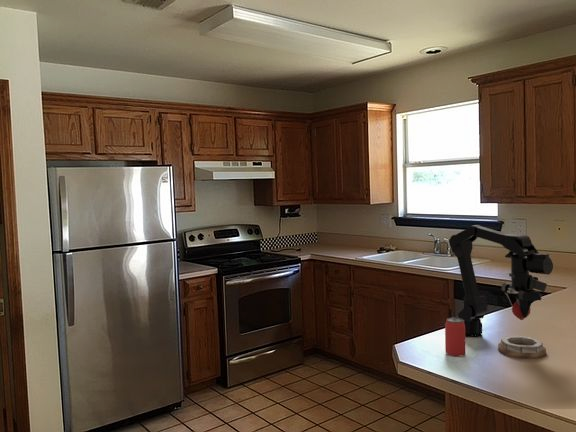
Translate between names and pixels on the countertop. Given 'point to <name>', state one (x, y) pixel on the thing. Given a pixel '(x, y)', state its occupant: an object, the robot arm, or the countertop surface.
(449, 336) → the beer can
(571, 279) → the countertop surface
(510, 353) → the ring board
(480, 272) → the countertop surface
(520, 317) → the onion
